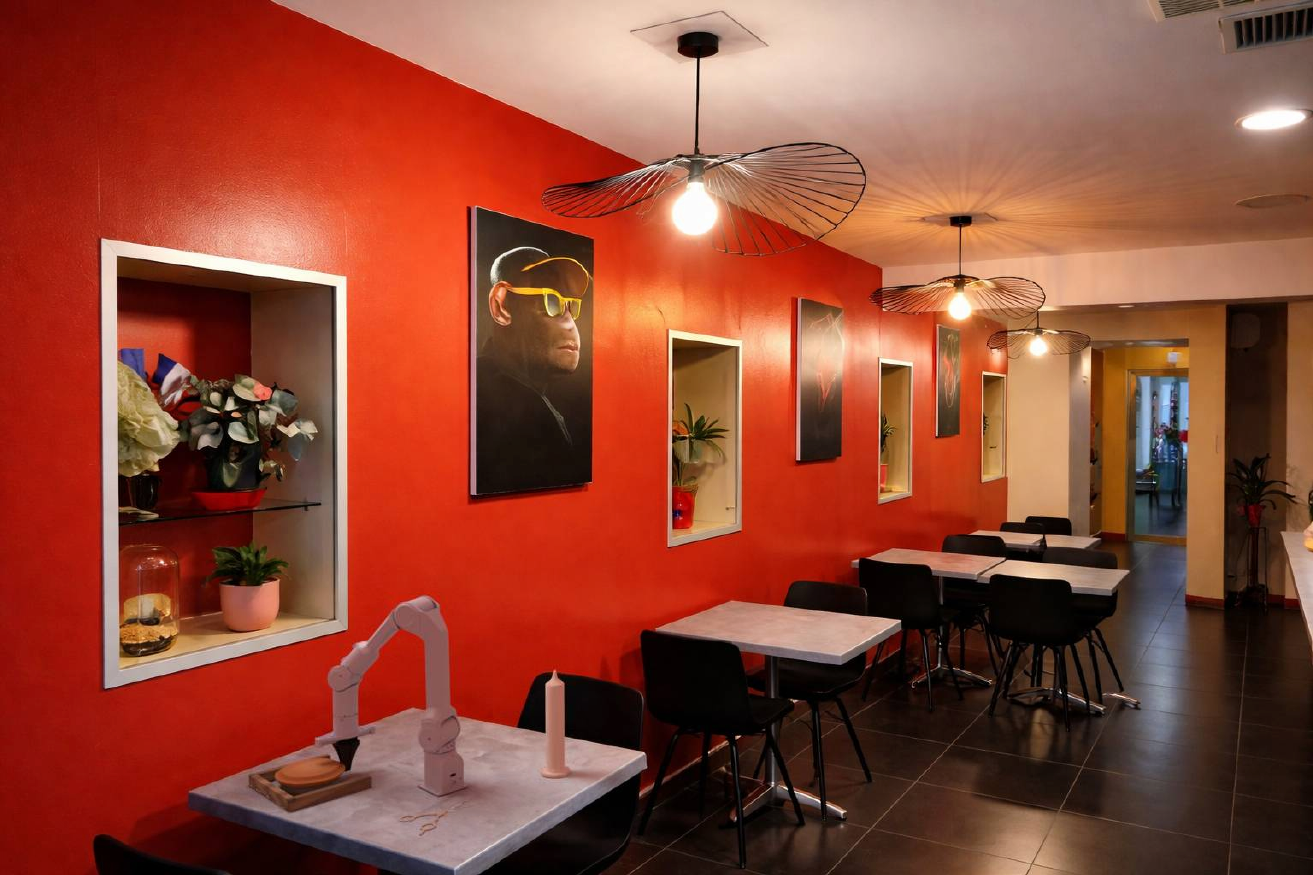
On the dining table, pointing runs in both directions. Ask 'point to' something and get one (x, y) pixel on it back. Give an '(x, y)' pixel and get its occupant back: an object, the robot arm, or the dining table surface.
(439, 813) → the scissors
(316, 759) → the pie
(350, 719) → the robot arm
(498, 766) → the dining table surface
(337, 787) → the serving rack
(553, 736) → the candle
